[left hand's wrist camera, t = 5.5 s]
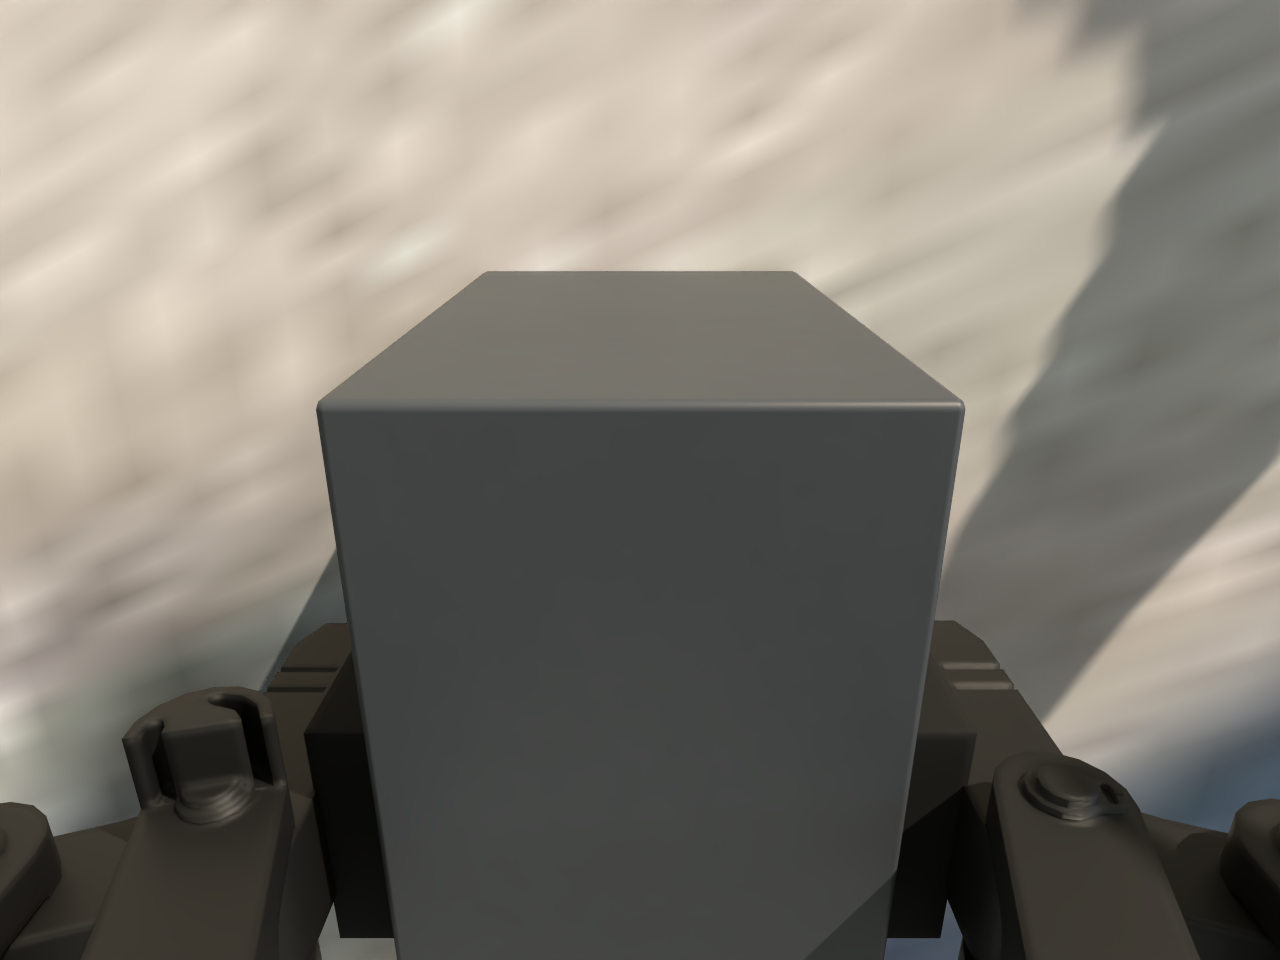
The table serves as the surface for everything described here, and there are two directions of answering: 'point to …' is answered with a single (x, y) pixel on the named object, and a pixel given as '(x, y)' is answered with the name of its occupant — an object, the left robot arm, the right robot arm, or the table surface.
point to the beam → (640, 614)
